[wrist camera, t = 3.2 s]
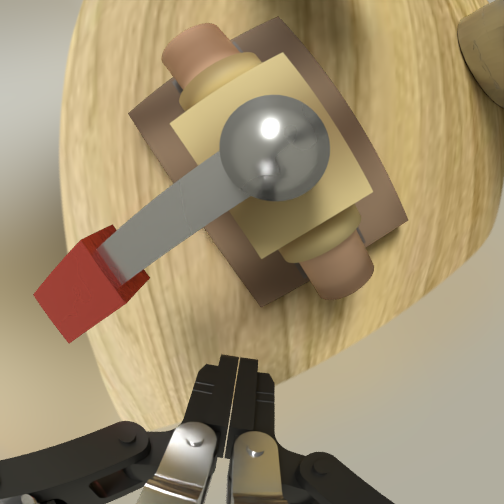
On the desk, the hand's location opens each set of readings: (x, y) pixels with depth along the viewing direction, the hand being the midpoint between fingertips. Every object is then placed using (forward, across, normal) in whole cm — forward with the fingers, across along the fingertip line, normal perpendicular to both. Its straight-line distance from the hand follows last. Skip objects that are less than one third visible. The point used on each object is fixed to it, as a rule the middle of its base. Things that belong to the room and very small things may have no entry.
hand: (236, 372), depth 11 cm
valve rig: (+9, 0, -8) cm, 12 cm away
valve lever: (0, +3, -6) cm, 6 cm away
